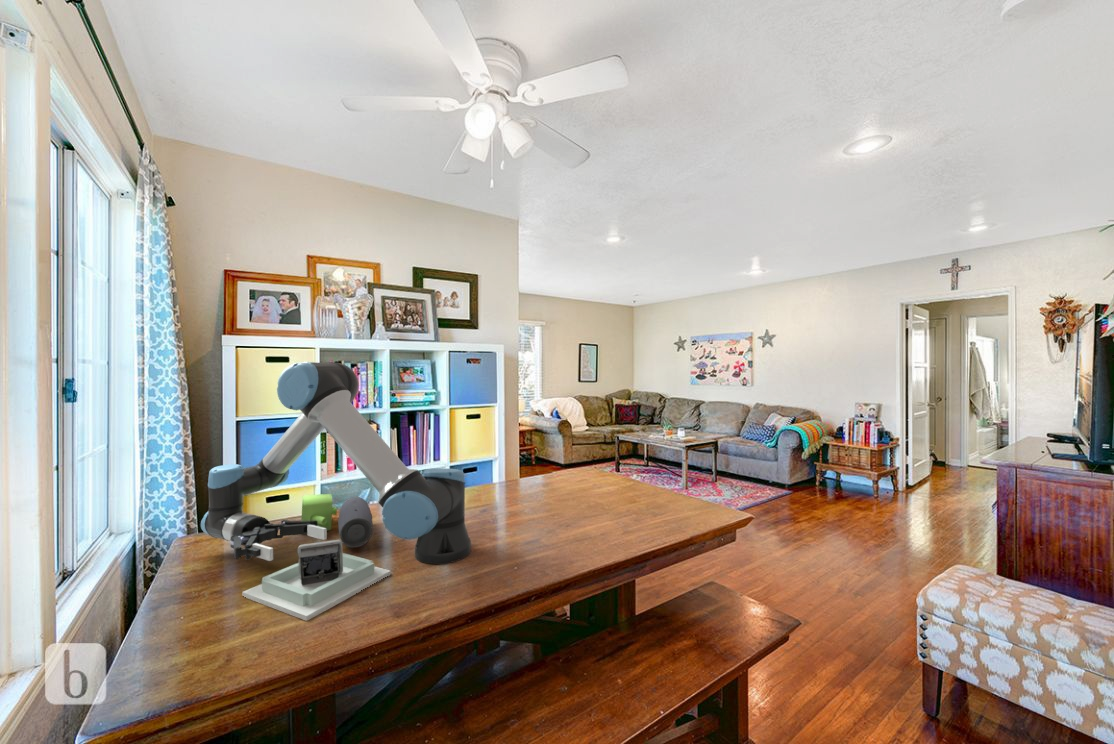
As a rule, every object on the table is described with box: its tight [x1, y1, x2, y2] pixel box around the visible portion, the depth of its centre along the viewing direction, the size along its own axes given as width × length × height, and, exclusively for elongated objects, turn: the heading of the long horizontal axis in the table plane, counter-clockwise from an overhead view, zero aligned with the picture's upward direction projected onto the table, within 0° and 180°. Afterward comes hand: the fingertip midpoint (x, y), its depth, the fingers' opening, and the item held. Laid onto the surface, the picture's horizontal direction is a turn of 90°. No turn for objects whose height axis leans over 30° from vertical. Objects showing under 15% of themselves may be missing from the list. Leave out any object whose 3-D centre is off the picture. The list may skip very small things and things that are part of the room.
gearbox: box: [300, 493, 338, 531], centre depth 141 cm, size 18×10×10 cm, turn 29°
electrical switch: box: [297, 538, 343, 585], centre depth 103 cm, size 9×5×9 cm, turn 113°
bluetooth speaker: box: [337, 496, 374, 548], centre depth 132 cm, size 23×9×10 cm, turn 26°
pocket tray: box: [241, 552, 392, 622], centre depth 104 cm, size 22×22×4 cm
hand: (300, 543), depth 106 cm, fingers open, 13 cm apart
